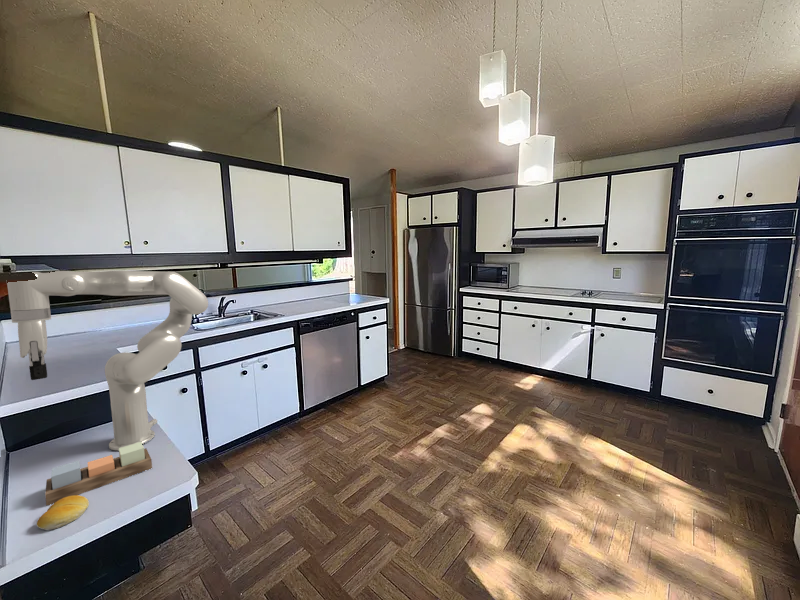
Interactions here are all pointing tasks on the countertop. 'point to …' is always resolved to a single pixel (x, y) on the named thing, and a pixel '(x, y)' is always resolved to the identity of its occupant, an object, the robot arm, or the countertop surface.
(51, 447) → the countertop surface
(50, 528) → the bread roll
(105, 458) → the orange block
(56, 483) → the slate button
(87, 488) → the wooden tray
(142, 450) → the sage button
